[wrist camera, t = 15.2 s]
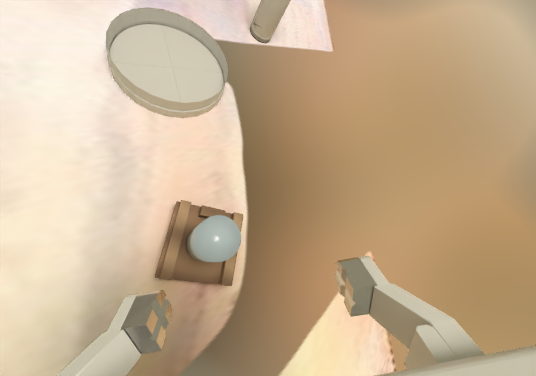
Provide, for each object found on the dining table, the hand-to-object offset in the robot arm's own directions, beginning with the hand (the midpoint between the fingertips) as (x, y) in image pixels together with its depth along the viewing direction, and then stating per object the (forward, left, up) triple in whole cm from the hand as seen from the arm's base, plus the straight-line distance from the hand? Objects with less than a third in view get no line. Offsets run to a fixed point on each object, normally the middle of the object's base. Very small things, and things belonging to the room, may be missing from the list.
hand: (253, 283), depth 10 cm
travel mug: (+63, -5, -32) cm, 71 cm away
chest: (+4, -2, -32) cm, 32 cm away
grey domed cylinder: (+4, -2, -29) cm, 29 cm away
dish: (+38, +12, -32) cm, 51 cm away
